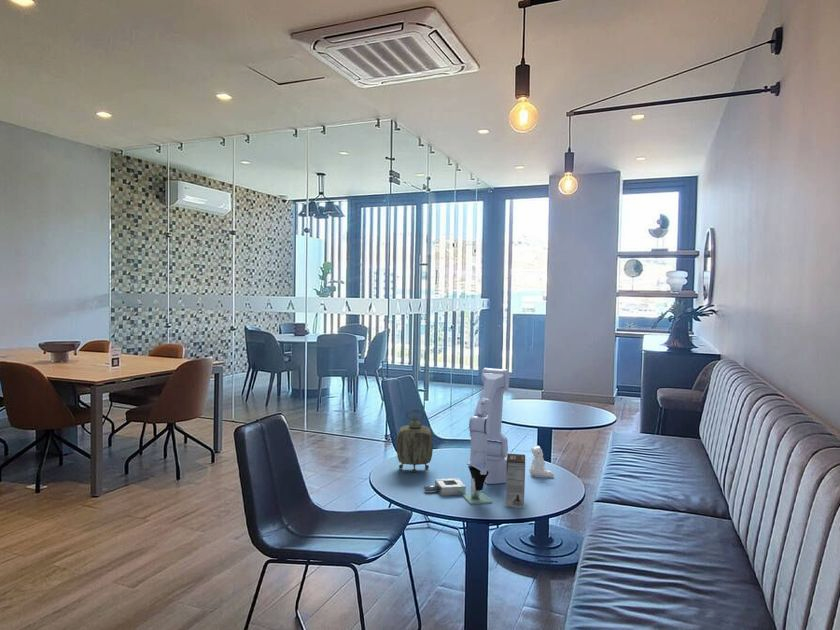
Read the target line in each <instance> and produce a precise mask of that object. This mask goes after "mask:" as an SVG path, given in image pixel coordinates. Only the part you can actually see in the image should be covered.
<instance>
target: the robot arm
mask: <svg viewBox="0 0 840 630" xmlns="http://www.w3.org/2000/svg"><path fill="white" fill-rule="evenodd" d="M481 371H482V372H481V382H482V385H483V386H484V387H483V392H482V397H481V399H479V400H478V401H477V404H476V407H475V410H474V413H473V415H472V416H470V418H469V420H468V421H469V422H468V430H469V437H470V455H469V456H470V457H469V458H470V459H469V461H467V462H466V465H467V466H468V470H469V472H470V476H471V478H472V477H474V480H475V489H476V491H480V492H481V491H483V488H484V484H487V485H494V484H495V485H496V484H506V467H507V454H509V453H508V452H509V445H508V437H506V436H505V435H504V434H503V433H502V420H503V403H504V394H505V391H509V388H510V376H511V375H510V371H509V369H507V368H503V369H502V368H492V367H484V368H483V369H482V370H481Z"/></svg>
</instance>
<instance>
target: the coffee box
mask: <svg viewBox="0 0 840 630" xmlns="http://www.w3.org/2000/svg"><path fill="white" fill-rule="evenodd" d="M506 458H507V467H506V483H505V508H517V509H524V504H525V484H526V481H525V479H526V454H520V453H519V454H518V453H507V457H506Z"/></svg>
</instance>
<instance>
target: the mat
mask: <svg viewBox="0 0 840 630" xmlns="http://www.w3.org/2000/svg"><path fill="white" fill-rule="evenodd" d="M462 497H463V498H464V499H465V500H466V502H467V503H468V504H469V505H470V506H472V505H484V504H485V505H486V504H492V503H493V501H492V499H490V498H489V497H488V496H487V495H486V493H484V492H483V493H480V497H479V499H477V500H474V499H471V493H466V494H464V495H462Z"/></svg>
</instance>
